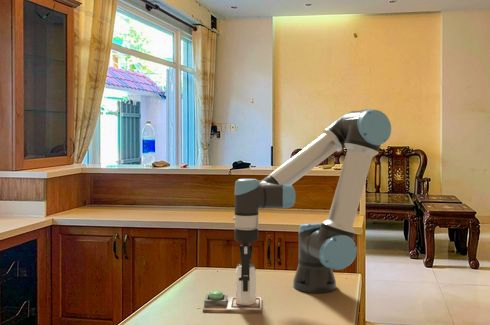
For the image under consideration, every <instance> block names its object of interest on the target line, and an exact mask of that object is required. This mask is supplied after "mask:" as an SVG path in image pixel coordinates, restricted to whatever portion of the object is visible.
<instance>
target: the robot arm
mask: <svg viewBox="0 0 490 325" xmlns="http://www.w3.org/2000/svg"><path fill="white" fill-rule="evenodd" d="M391 134H392V124H391V120H390V119H389V117H388V115H386V113H385V112H383V111H382V110H379V109H372V108H367V109H361V110H352V111H348V112H347V113H344V114H343V115H341V116H340V117H339V118H338V119H336V120H335V121H333V122H332V123H331V124H330V125H328V126H327V127H326V128H324V129H323V130H322V134H321V135H320V136H318V137H317V138H316V139H315V140H313V141H312V142H311V143H309V144H308V145H307V146H305V147H304V148H303V149H301V150H300V151H299V152H297V153H295V155H293V156H292V157H291V158H289V159H288V160H287V161H286V162H284V163H282V164H281V165H280V166H279V167H278V168H276V169H275V170H274V171H272V172H271V173H270V174H268V175H267V176H265V177H264V178H263V179H261V180H258V179H256V178H239V179H237V180H236V181H235V182H234V192H233V193H234V194H233V196H234V216H233V217H232V221H234V227H235V228H234V232H233V233H234V235H233V236H234V241H236V242H239V243H240V242H241V243H242V244H240V245H239V253H240V256H239V258H240V261H241V263H240V264H241V278H239V281H241V302H250V277H249V276H250V264H252V262H251V261H252V254H253V249H254V248H253V245H251V243H253V242H257V241H258V240H259V229H258V228H259V217H260V216H259V209H261V210H262V209H283V210H284V209H286V208H287V209H289V208H292V207H294V205H295V203H296V196H297V195H296V190H295V188H294V186H293V184H295V183H296V182H297V181H299V180H300V179H301V178H302V177H304V176H305V175H306V174H308V173H309V172H311V171H312V170H313V169H314V168H315V167H317V166H318V165H320V164H321V163H322V162H323V161H325V160H326V159H327V158H329V157H330V156H331V155H333V154H334V153H335V152H342V151H343V150H344V149H346V153H345V158H344V161H343V164H342V166H341V167H342V168H341V171H340V173H339V174H340V175H339V178H338V182H337V185H336V188H335V191H334V196H333V198H332V203H331V206H330V209H329V213H328V216H327V219H325V220H323V221H322V222H313V223H312V222H309V223H301V224H300V225H299V228H298V266H297V268H296V272H295V275H294V278H293V284H292V286H293V288H294V289H296V290H298V291H301V292H305V293H314V294H320V293H321V294H322V293H323V294H324V293H329V292H333V291H336V288H337V282H336V281H337V280H336V277H335V274H334V271H333V270H336V271H338V270H344V269H346V268H348V267H349V266H351V264H353V262H354V261H355V259H356V257H357V252H358V251H357V250H358V247H357V245H356V242H355V237H356V234H357V232H356V230H355V229H354V224H355V220H356V216H357V213H358V210H359V207H360V206H359V205H360V202H361V199H362V195H363V192H364V188H365V185H366V182H367V178H368V174H369V171H370V166H371V164H372V160H373V158H374V157H375V156H377V155H379V153H380V149H381V145H382V144H384V143H386V142H387V141H389V139H390V136H391Z"/></svg>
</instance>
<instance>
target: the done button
mask: <svg viewBox="0 0 490 325" xmlns="http://www.w3.org/2000/svg"><path fill="white" fill-rule="evenodd" d="M208 294H209V300H223V294H224V292H223V291H221V290H211V291H209V292H208Z"/></svg>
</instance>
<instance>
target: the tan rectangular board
mask: <svg viewBox="0 0 490 325" xmlns="http://www.w3.org/2000/svg"><path fill="white" fill-rule="evenodd" d="M262 299H263V297H261V296H259V297H257V296H256V303H255V304H253V305H250V306H242V305H238V304H237V303H236V296H228V294H227V293H226V294H224V293H223V300H209V293H207V294H206V295H205V297H204V299H203V300H204V301H203V302H204V303H203V307H202V313H230V314H231V313H238V314H247V313H248V314H262V313H263V312H262V311H263V309H262V308H263V306H262V305H263V302H262V301H263V300H262Z"/></svg>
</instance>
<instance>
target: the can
mask: <svg viewBox="0 0 490 325" xmlns="http://www.w3.org/2000/svg"><path fill="white" fill-rule="evenodd" d="M241 264H242V263H237V264H236V269H235V297H236V303H237V304H238V305H242V306H250V305H253V304H255V303H256V297H257V270H256V268H255V266H256V265H255V264H253V263H251V264H250V276H249V277H250V302H241V281H239V278H241Z"/></svg>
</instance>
